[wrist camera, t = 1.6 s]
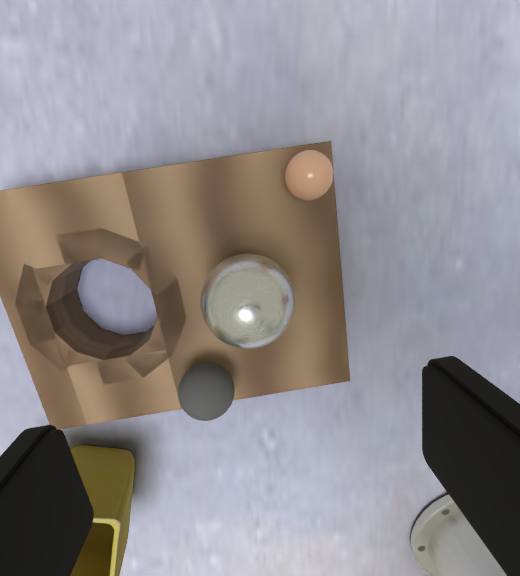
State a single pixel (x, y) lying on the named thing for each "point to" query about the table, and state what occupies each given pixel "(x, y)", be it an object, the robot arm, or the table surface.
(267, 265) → the steel ball
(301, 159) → the terracotta ball
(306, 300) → the board
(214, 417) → the gray ball
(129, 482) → the flower pot
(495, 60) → the table surface
